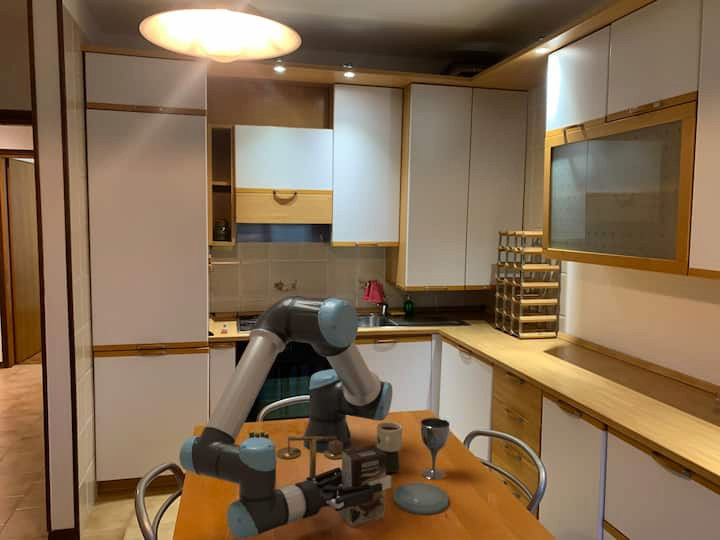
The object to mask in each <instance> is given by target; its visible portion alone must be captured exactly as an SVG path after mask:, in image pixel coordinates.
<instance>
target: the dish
mask: <svg viewBox="0 0 720 540" xmlns="http://www.w3.org/2000/svg"><path fill="white" fill-rule="evenodd" d="M393 502H394V504H395V506H397V507H398V508H399V509H401V510H403V511H405V512H408V513H411V514H414V515H423V516H425V515H434V514H438V513H441V512H443V511H445V510H446V509H447V508H448V506H449V495H448V492H446V491H445V490H444V489H442V488H441V487H439V486H437V485H434V484H430V483H425V482H411V483H406V484H402V485H400V486H398V487H397V488H395V490H394V491H393Z"/></svg>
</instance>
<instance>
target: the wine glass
mask: <svg viewBox="0 0 720 540" xmlns="http://www.w3.org/2000/svg"><path fill="white" fill-rule="evenodd" d="M420 435H421V441H422V443H423V444H424V445H425V447H426V448H427V449H428V451H429V452H430V455H431V461H432V463H431V464H432V465H431V466H432V467H431V468H432V469H430V468H424V469H425V470H424V469H422V470H421V471H422V472H421V471H420V476H422V477H423V476H424V477H425V478H424V477H423V478H424V479H426V478H428V479H427V480H430V479H431V480H430V481H439V480H438V479H441V480H443V478H444V477H445V475H446V476H447V473H446V472H445V471H443V470H442V471H441V469H439V468H436V462H437V461H436V459H437V455H438V453H439V451H441V450H442V448H444V447H445V446H446V444H447V442H448V438H449V435H450V422H449V421H448V420H447V419H445V418H444V419H443V418H440V417H427V418H426V417H425V418H423V419H421V420H420ZM438 469H439V470H438ZM444 472H445V473H446V474H445V473H444ZM445 478H446V477H445ZM445 478H444V479H445Z"/></svg>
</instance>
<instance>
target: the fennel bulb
mask: <svg viewBox="0 0 720 540" xmlns="http://www.w3.org/2000/svg"><path fill="white" fill-rule="evenodd" d="M248 436H249V437H248V439H249V438H254V437H256V438H261V437H263V438H267V439H270V434H269V433H268V432H266V431H264V430H261V431H254V430H250V431H249V432H248Z"/></svg>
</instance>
